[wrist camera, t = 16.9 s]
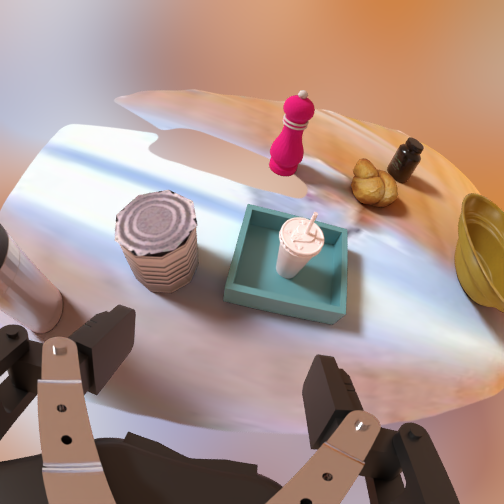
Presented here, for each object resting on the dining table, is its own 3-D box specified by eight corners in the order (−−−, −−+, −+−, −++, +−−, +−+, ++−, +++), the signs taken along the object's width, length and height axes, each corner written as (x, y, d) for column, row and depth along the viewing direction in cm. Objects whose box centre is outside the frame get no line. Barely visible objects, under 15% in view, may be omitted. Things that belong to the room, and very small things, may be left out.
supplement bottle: (402, 169, 70) (420, 139, 60) (409, 185, 66) (430, 154, 56) (383, 164, 69) (401, 131, 59) (390, 180, 66) (411, 147, 56)
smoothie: (312, 276, 46) (345, 226, 34) (280, 292, 44) (307, 243, 32) (292, 247, 48) (316, 191, 37) (260, 260, 46) (278, 204, 34)
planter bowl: (505, 352, 42) (543, 332, 31) (424, 309, 46) (469, 278, 35) (499, 255, 59) (525, 231, 48) (428, 206, 63) (454, 172, 52)
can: (137, 301, 41) (115, 263, 30) (129, 242, 46) (112, 196, 36) (206, 284, 44) (205, 243, 34) (190, 228, 49) (187, 180, 39)
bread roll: (390, 190, 63) (404, 168, 57) (397, 219, 58) (414, 196, 51) (345, 176, 63) (357, 152, 56) (349, 205, 58) (363, 180, 51)
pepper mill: (289, 155, 64) (310, 83, 47) (303, 175, 61) (330, 100, 44) (261, 159, 62) (278, 82, 45) (275, 180, 58) (297, 99, 41)
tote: (223, 301, 43) (224, 287, 38) (244, 221, 51) (247, 203, 47) (332, 324, 43) (345, 314, 39) (336, 244, 51) (347, 229, 47)
